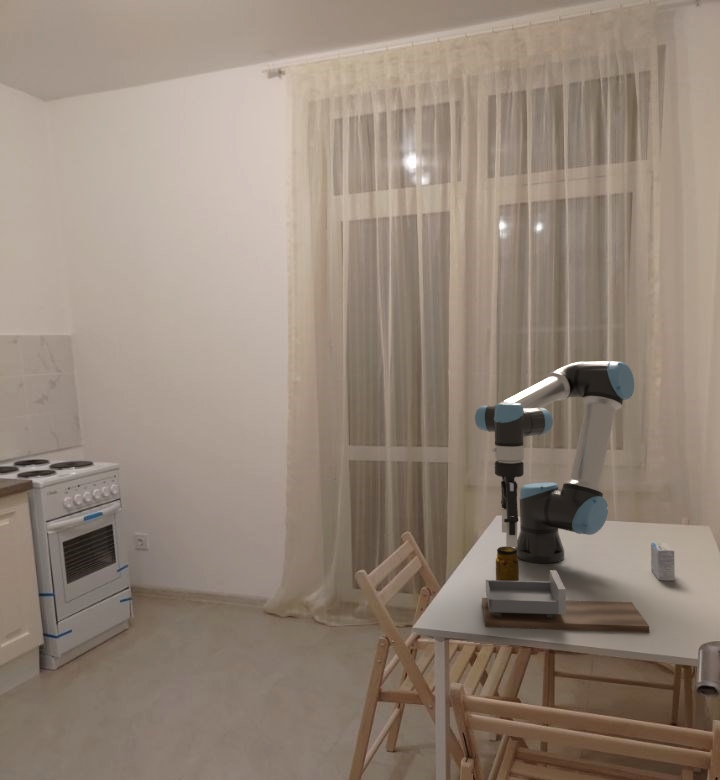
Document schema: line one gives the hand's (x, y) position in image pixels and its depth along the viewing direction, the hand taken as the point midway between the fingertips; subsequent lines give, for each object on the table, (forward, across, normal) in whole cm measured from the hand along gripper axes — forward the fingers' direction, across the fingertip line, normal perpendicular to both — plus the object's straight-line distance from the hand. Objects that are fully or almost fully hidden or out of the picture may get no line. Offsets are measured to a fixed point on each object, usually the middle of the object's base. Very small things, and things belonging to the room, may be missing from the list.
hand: (509, 539), depth 169 cm
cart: (+13, +15, +1) cm, 20 cm away
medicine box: (+14, -16, +44) cm, 49 cm away
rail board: (+15, +15, +11) cm, 23 cm away
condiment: (+15, 0, 0) cm, 15 cm away
